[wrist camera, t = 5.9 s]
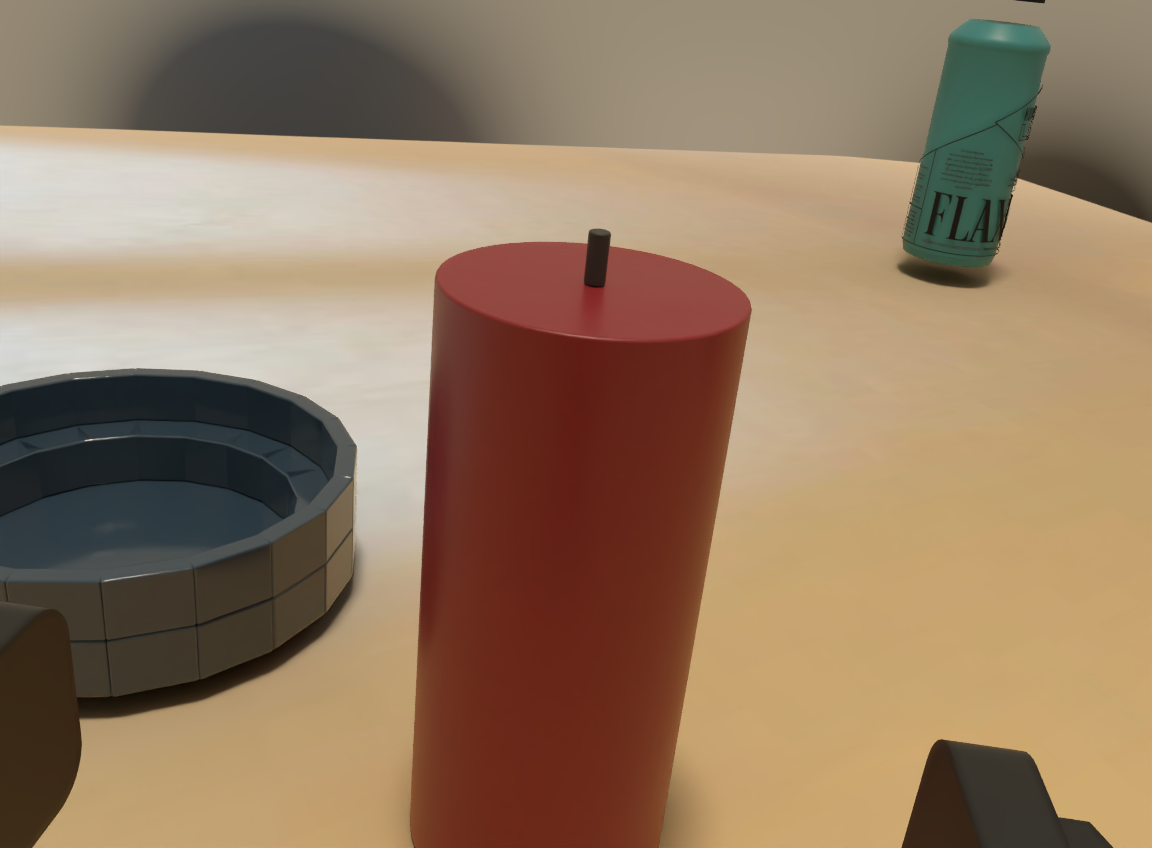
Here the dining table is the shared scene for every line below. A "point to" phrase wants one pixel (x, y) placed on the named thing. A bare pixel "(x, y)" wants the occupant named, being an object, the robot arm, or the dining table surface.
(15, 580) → the bowl
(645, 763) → the candle
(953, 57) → the beverage bottle
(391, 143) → the dining table surface
